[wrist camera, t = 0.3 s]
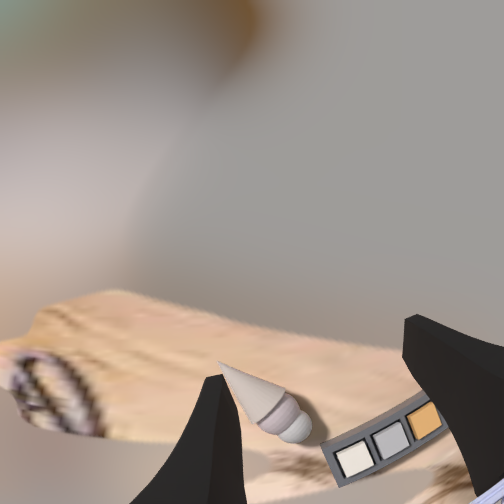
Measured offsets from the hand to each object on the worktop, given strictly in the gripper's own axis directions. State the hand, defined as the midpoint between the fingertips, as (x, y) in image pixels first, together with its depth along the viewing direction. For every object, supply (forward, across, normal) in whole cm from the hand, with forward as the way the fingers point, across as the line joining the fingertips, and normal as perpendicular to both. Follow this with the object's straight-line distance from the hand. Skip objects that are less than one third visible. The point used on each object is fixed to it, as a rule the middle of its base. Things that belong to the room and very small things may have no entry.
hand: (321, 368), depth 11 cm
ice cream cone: (+20, +4, +23) cm, 30 cm away
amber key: (+10, -15, +27) cm, 32 cm away
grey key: (+10, -10, +27) cm, 31 cm away
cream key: (+10, -5, +28) cm, 30 cm away
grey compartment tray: (+12, -10, +29) cm, 33 cm away
